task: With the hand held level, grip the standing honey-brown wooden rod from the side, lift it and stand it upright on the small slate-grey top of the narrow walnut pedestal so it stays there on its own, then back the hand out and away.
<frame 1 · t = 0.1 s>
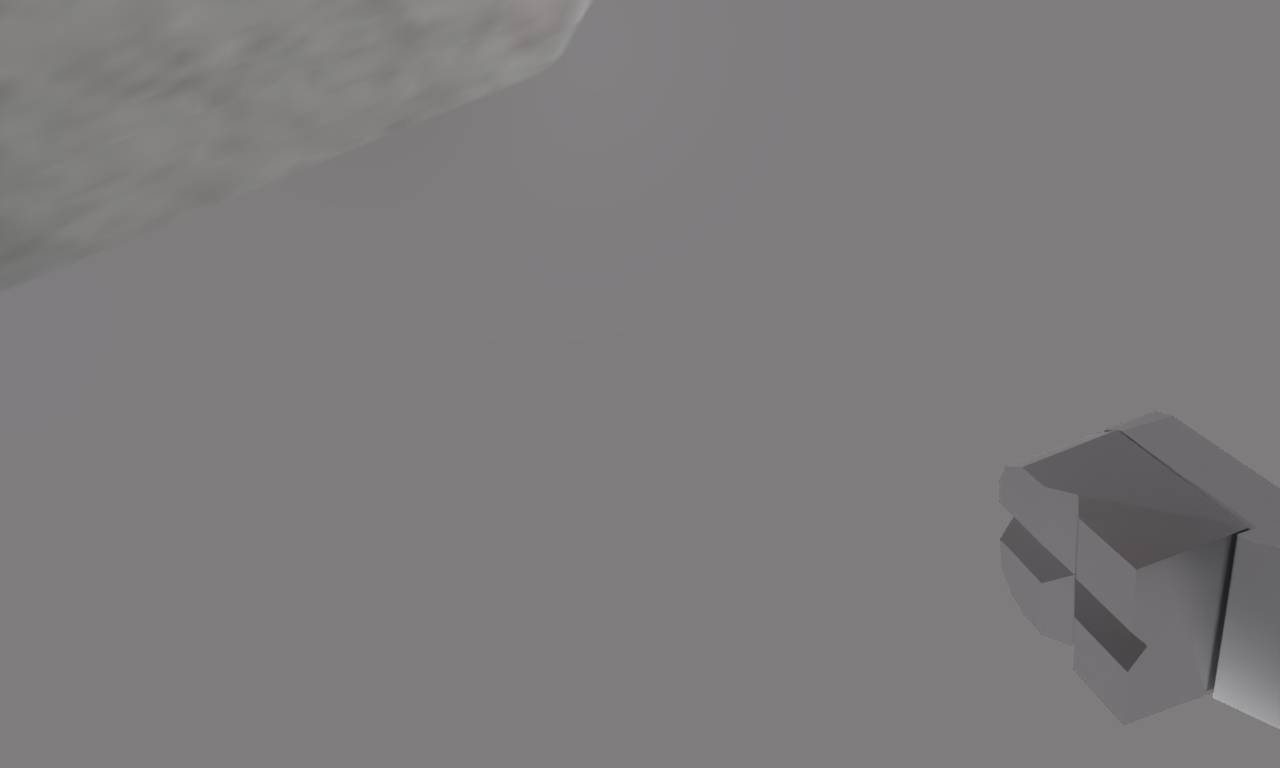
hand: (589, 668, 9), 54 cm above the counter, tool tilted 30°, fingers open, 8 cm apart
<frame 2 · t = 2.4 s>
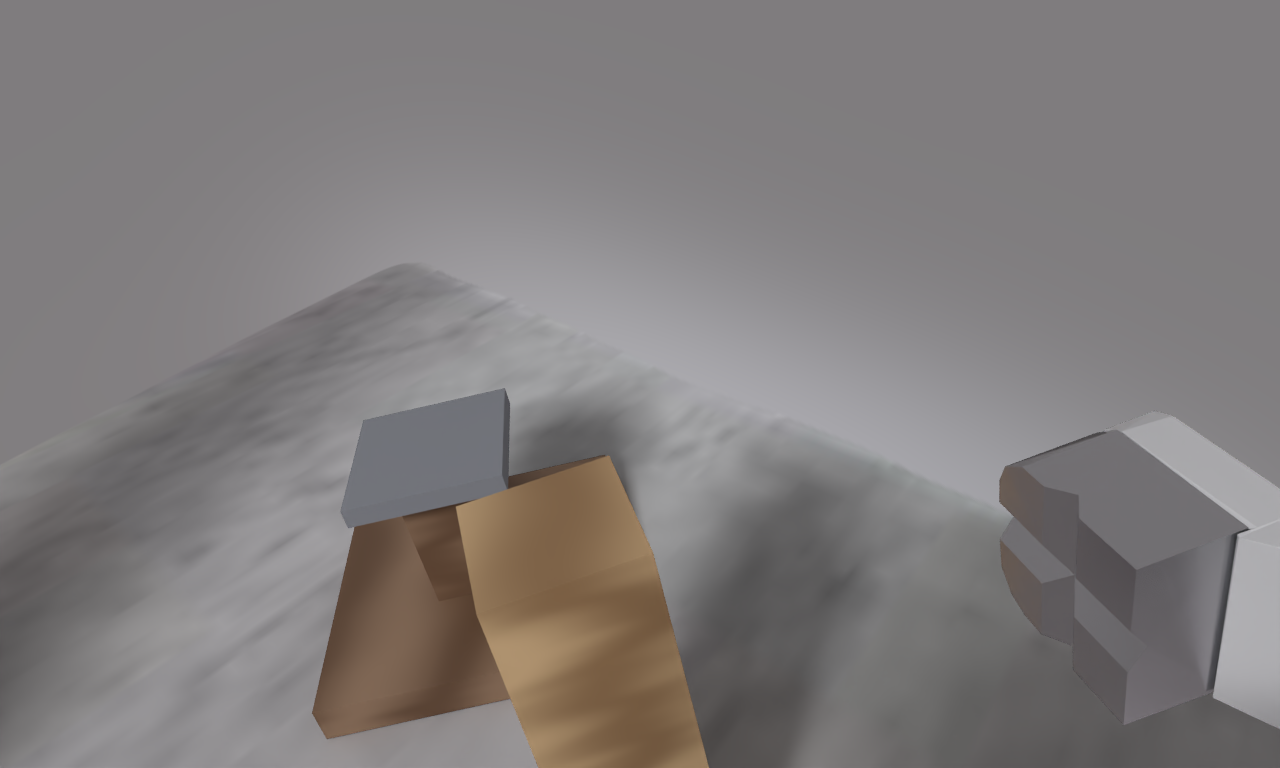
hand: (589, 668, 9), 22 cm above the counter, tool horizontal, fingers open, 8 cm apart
pedestal: (486, 594, 42), on the counter
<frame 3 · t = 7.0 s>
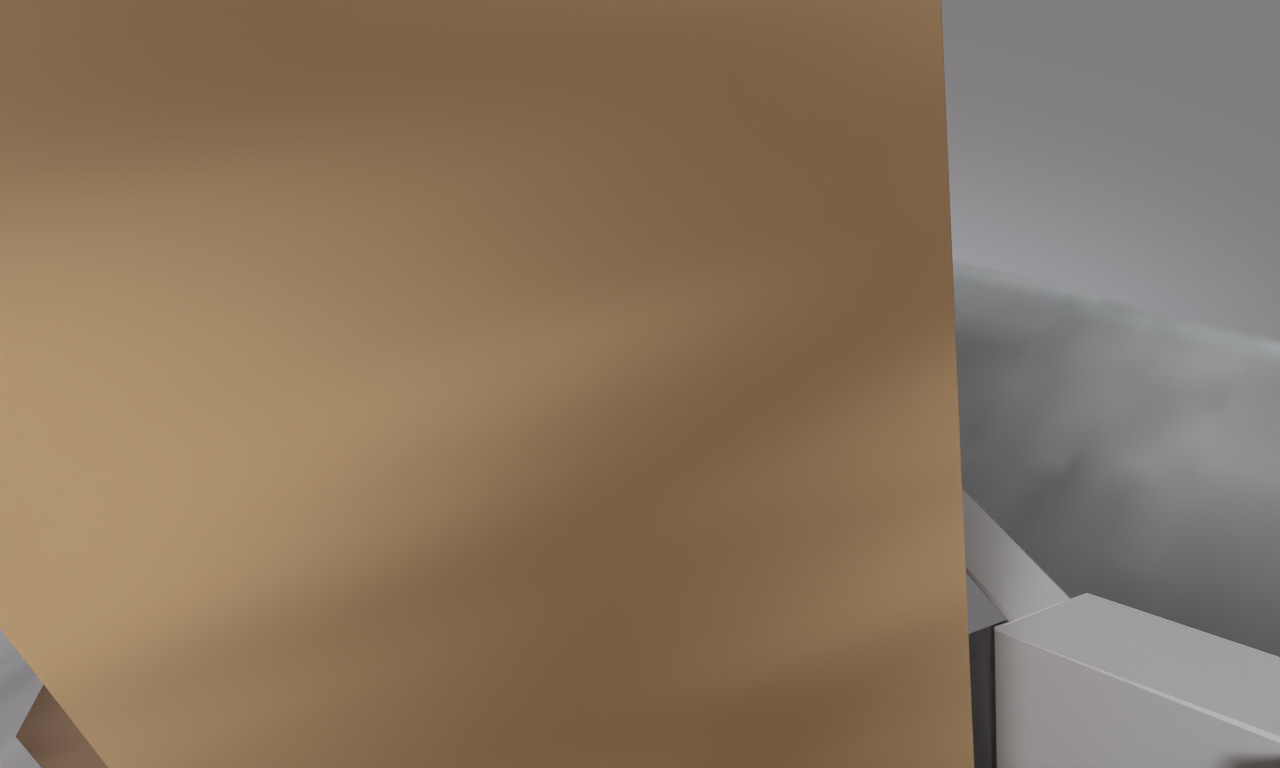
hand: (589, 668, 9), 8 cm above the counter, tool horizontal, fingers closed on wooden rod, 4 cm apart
pedestal: (396, 519, 24), on the counter
when the fingers open (16 cm above the counter, at t = 13.5 s): wooden rod stays where it is, resting on pedestal.
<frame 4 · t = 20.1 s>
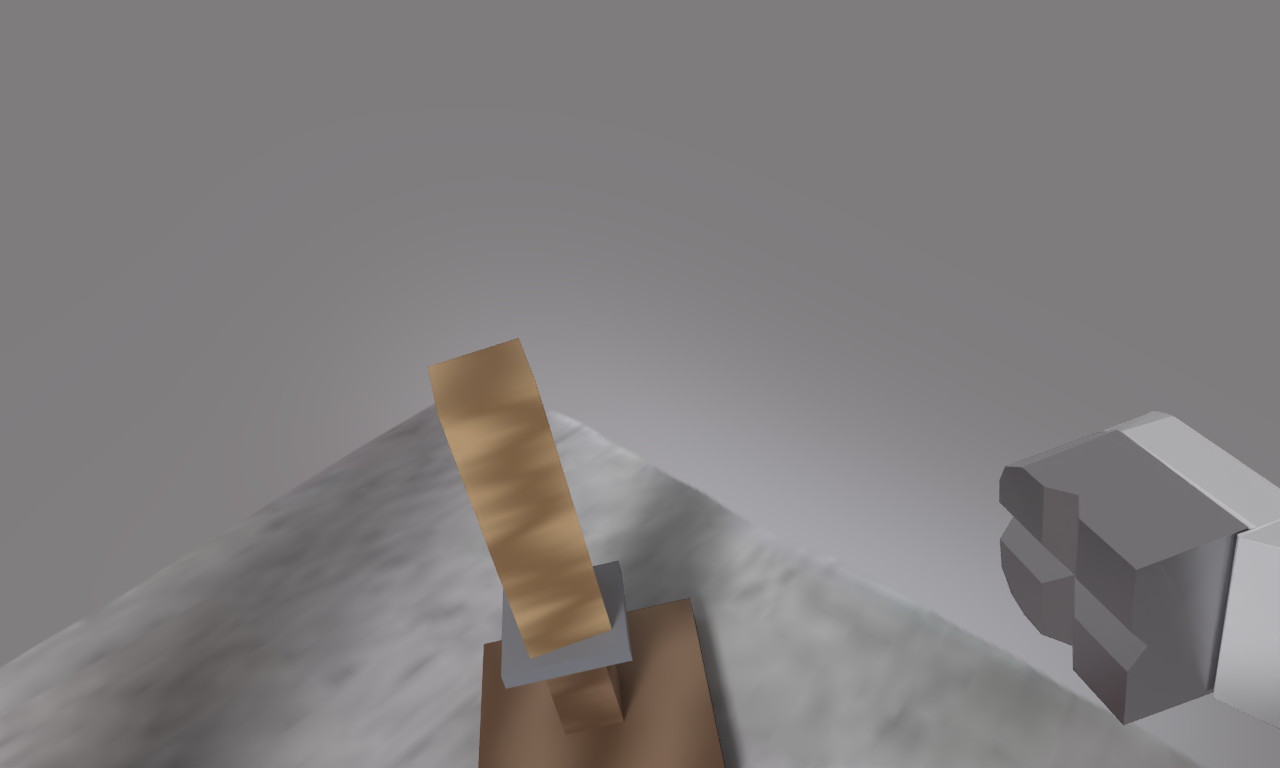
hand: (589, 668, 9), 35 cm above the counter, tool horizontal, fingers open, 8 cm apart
wooden rod: (562, 615, 48), point 8 cm above the counter, touching pedestal
pedestal: (599, 723, 52), on the counter
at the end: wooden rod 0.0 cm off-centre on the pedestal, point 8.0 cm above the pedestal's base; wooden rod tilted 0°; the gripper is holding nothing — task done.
